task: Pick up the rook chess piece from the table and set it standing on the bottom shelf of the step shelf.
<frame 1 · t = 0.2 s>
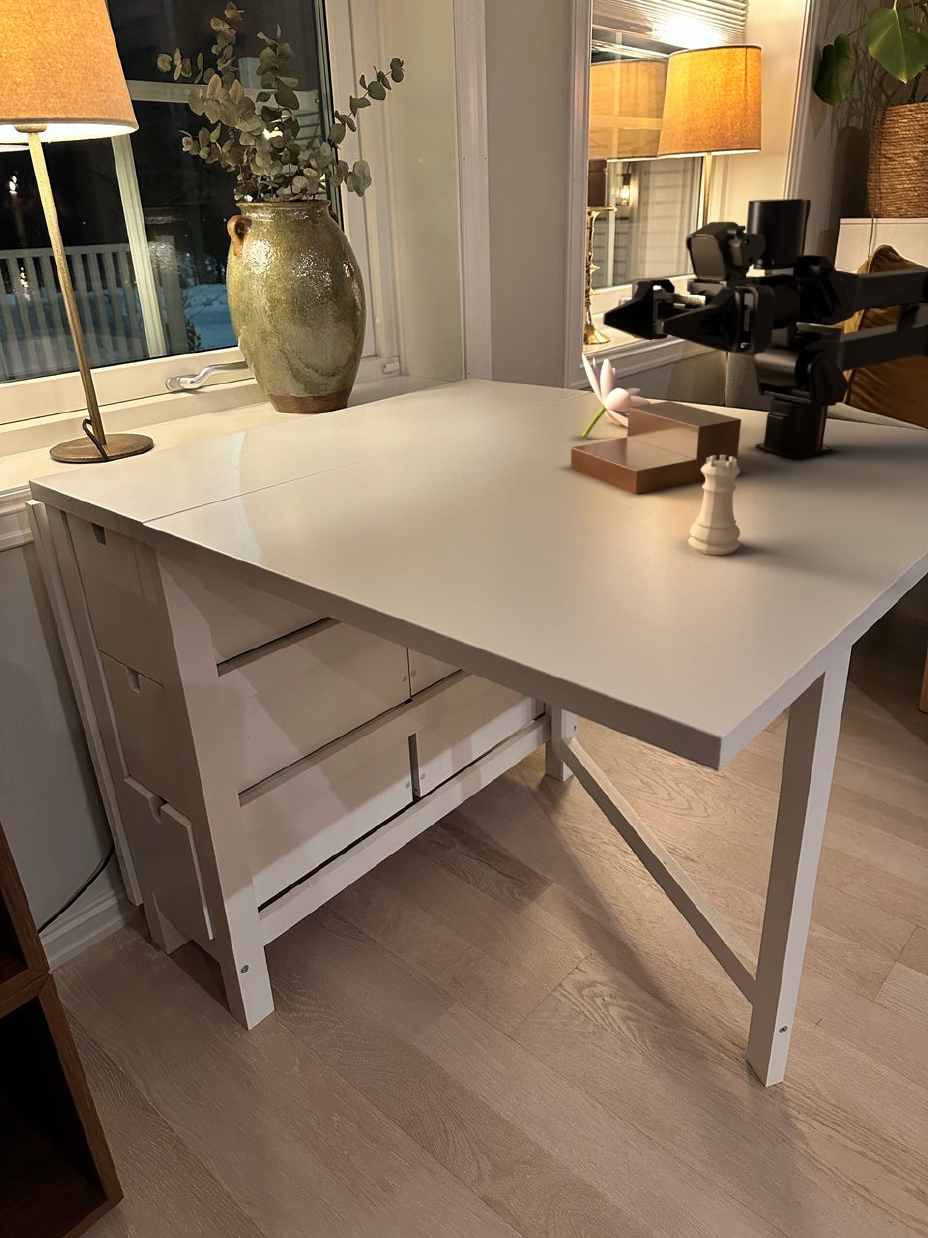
hand: (632, 322, 88), 17 cm above the table, tool horizontal, fingers open, 9 cm apart
rook chess piece: (713, 549, 78), on the table
step shelf: (658, 469, 101), on the table
water lily: (620, 437, 116), on the table
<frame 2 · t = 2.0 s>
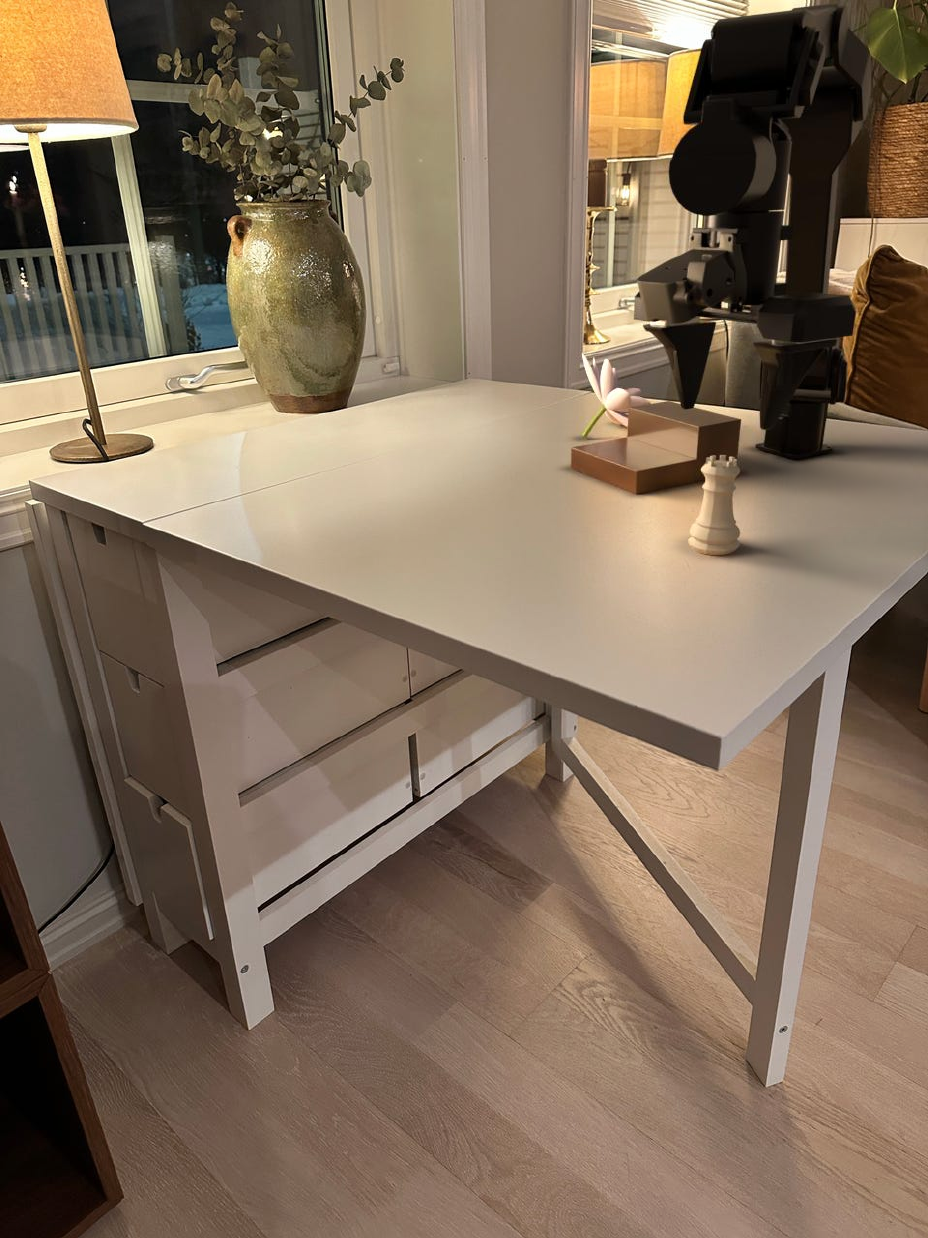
hand: (725, 418, 74), 11 cm above the table, tool pointing down, fingers open, 9 cm apart
nothing on the table moved.
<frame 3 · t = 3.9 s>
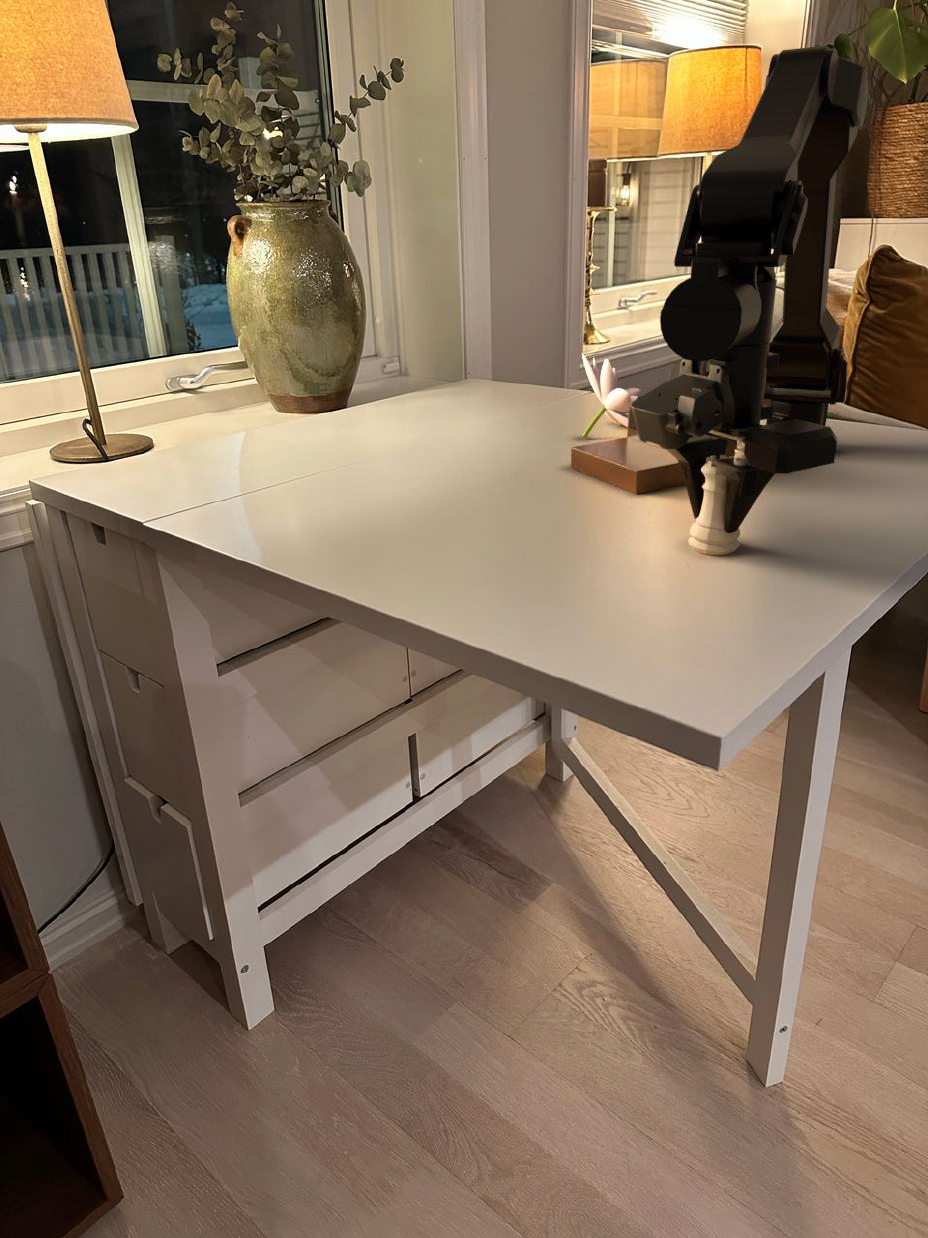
hand: (715, 525, 78), 2 cm above the table, tool pointing down, fingers closed on rook chess piece, 3 cm apart
rook chess piece: (713, 549, 78), on the table, touching gripper
everything else where it was.
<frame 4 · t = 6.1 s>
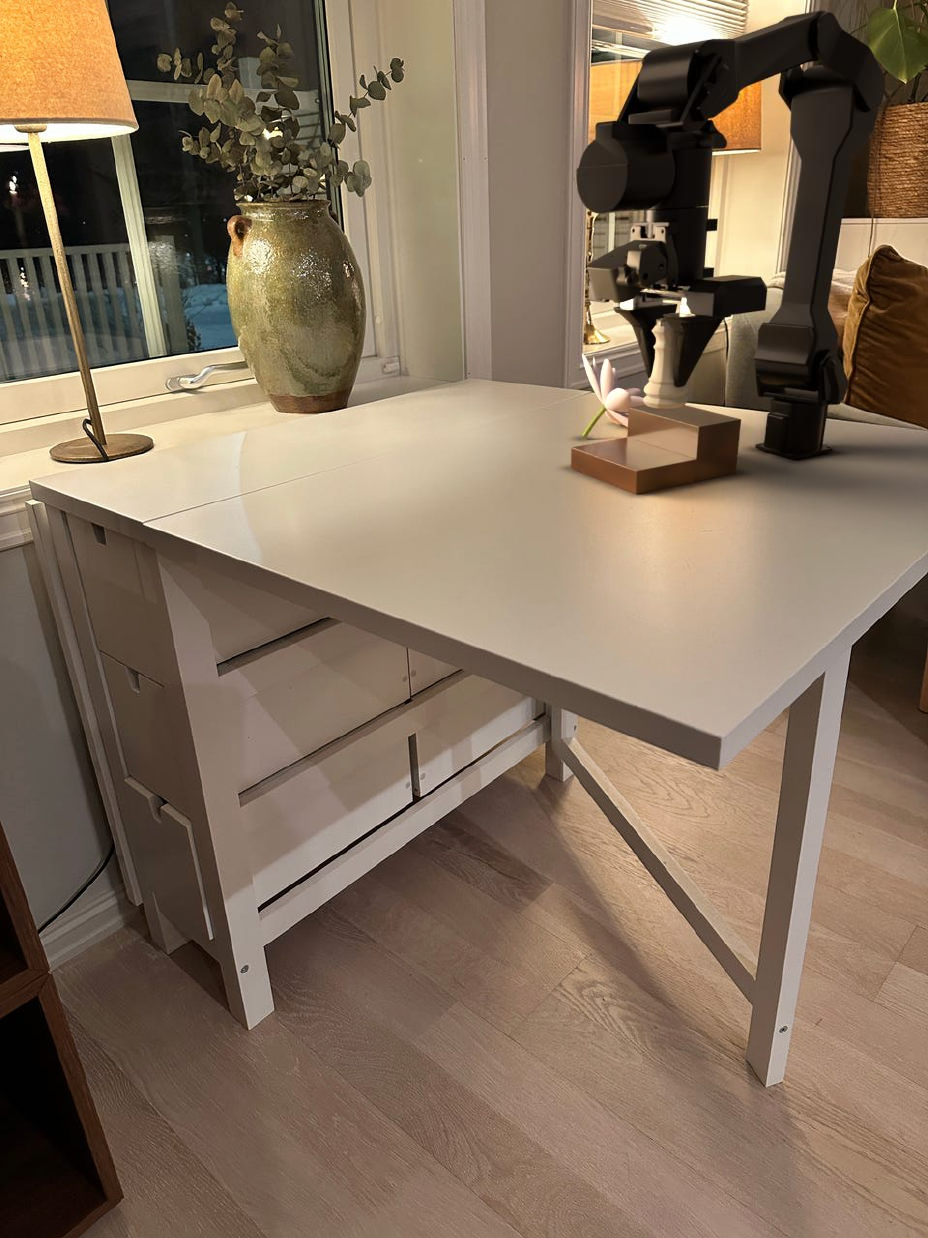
hand: (666, 383, 87), 12 cm above the table, tool pointing down, fingers closed on rook chess piece, 3 cm apart
rook chess piece: (665, 406, 87), point 9 cm above the table, touching gripper
everything else where it was.
when the fingers open (4 cm above the table, at t = 8.8 s): rook chess piece stays where it is, resting on step shelf.
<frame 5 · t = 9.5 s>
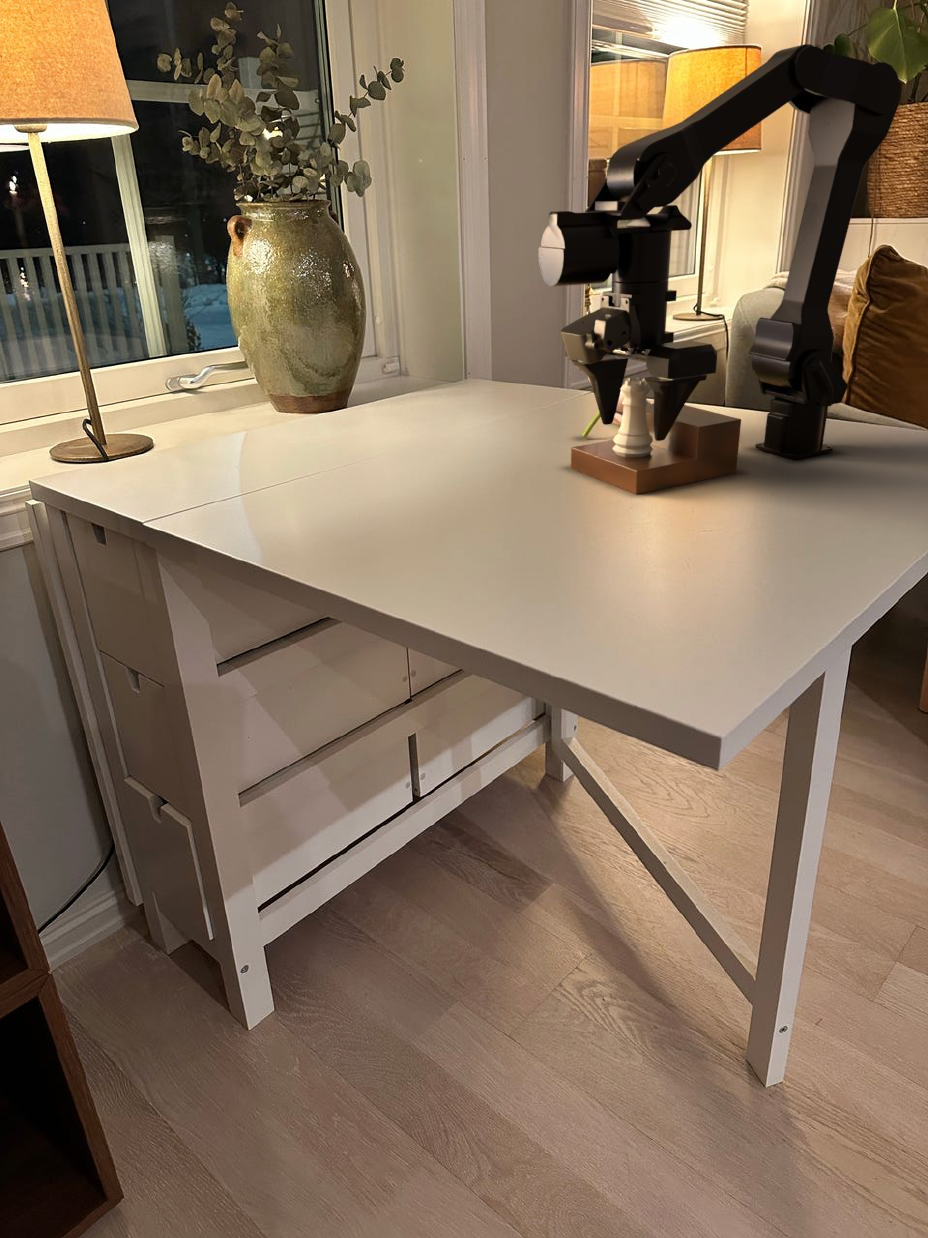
hand: (632, 431, 97), 5 cm above the table, tool pointing down, fingers open, 9 cm apart
rook chess piece: (632, 454, 98), point 2 cm above the table, touching step shelf
everything else where it was.
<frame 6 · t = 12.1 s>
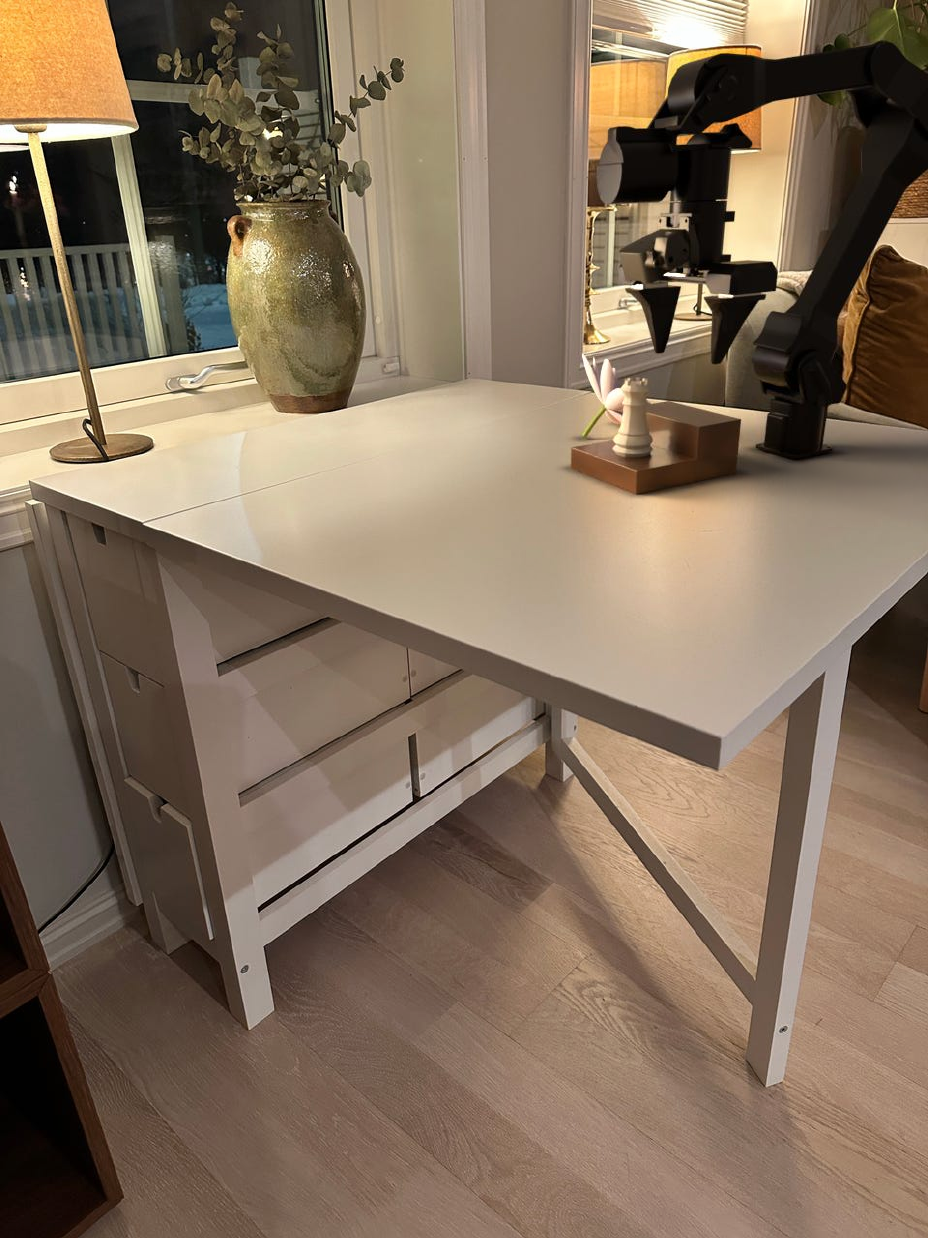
hand: (686, 358, 97), 12 cm above the table, tool pointing down, fingers open, 9 cm apart
nothing on the table moved.
at the end: rook chess piece inside the target area on the step shelf (0.1 cm from its centre), point 2.3 cm above the step shelf's base; rook chess piece tilted 0°; the gripper is holding nothing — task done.
